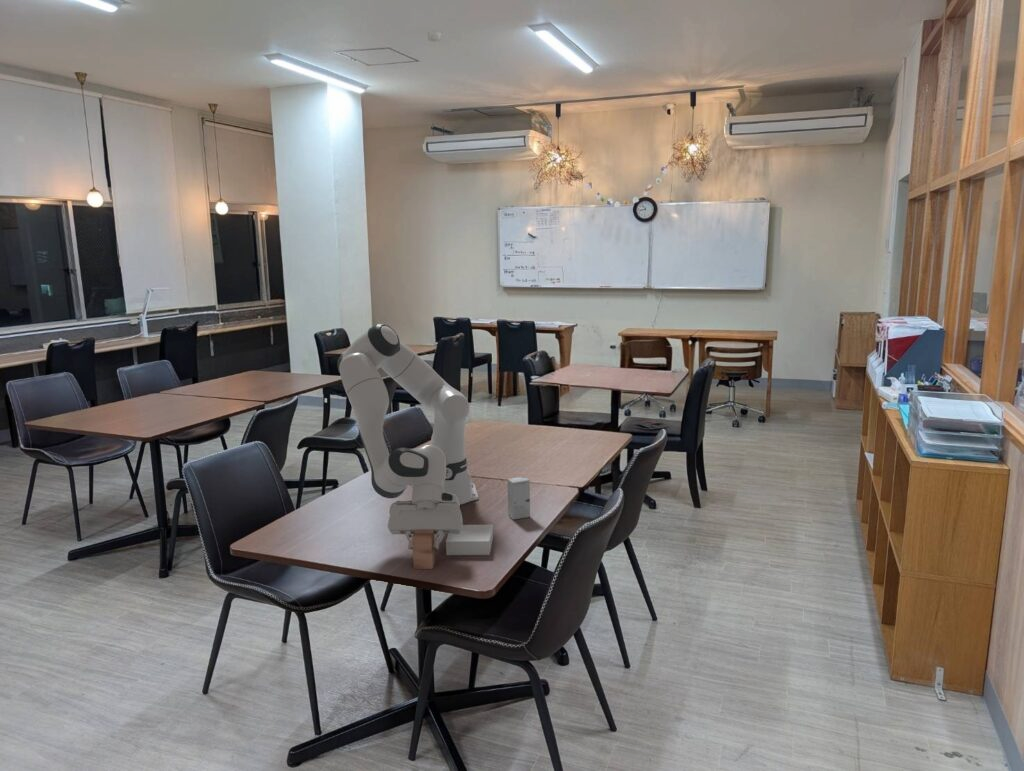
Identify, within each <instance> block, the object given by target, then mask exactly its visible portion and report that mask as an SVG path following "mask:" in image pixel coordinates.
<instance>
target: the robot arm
mask: <svg viewBox="0 0 1024 771" xmlns="http://www.w3.org/2000/svg"><path fill="white" fill-rule="evenodd" d="M336 363H337V366H336V367H337V369H338V373H339V374H340V379H341V383H342V386H343V388H344V391H345V393H346V396H347V399H348V401H349V403H350V405H351V408H352V410H353V411H352V412H353V414H354V418H355V421H356V425H357V429H358V433H359V436H360V438H361V442H362V445H363V448H364V451H365V455H366V457H367V459H368V460H367V461H368V463H369V466H370V470H371V473H370V474H371V477H370V478H371V485H372V488H373V489H374V491H375V492H376V493H377V494H378V495H379V496H381V497H383V498H385V499H396V498H398V497H400V496H402V494H404V492H405V490H406V489H407V487H408V486H411V487H412V495H411V500H405V501H404V500H403V501H402V500H396V501H395V502H394V503H392V504H390V506H389V518H388V521H387V529H388V531H389V533H390V534H391V535H405V537H406V540H407V541H408V545H407V546H408V547H407V548H408V550H413V547H412V536H413V534H414V532H415V530H434V535H437V538H436V539H435V540H434V541H433V545H432V548H433V549H435V550H439V548H440V544H441V542H442V541H443V540H444V537H445V535H448V534H460V533H461V532H462V531H463V525H464V522H463V515H462V511H461V510H462V509H461V508H460V507H461V506H460V505H464V504H467V503H469V502H473V501H477V500H479V494H478V491H477V489H476V488H477V487H476V484H475V483H473V482H472V475H471V474H470V472H469V470H468V461H467V458H466V450H465V449H466V446H465V444H466V443H465V440H466V439H465V436H466V434H465V431H466V426H467V419H468V416H469V415H468V414H469V413H470V404H469V402H468V399H467V398H466V396H465V395H464V394H463V393H462V392H461V391H459V390H457V389H456V388H454V387H453V386H451V385H450V384H449V383H448V382H446V380H445V379H444V378H442V376H440V375H439V373H437V372H436V371H435V369H434V368H433V367H431V365H429V364H428V363H427V362H426V361H425V360H424V359H422V358H421V356H420V355H418V354H417V353H416V352H415V351H414V350H412V348H410V347H409V346H408V345H406V344H404V343H403V342H402V341H400V338H399V335H398V334H397V332H396V331H395V330H394V329H393V328H392V327H391V326H389V325H387V324H383V323H378V324H375V325H373V326H371V327H370V328H368V330H367V331H366V332H363V334H361V335H360V336H358V337H357V338H356V339H355V340H354V341H353V342H352V344H350V345H349V346H348V347H347V349H346V350H344V351H343V352H342V353H341V354H340V356H339V357H338V360H337V362H336ZM379 369H382V370H383V371H384V372H385V374H387V375H388V376H389V377H390V378H391V379H393V381H394V382H396V383H397V384H398V385H399V386H400V387H401V388H403V389H404V390H405V391H406V392H407V393H409V394H410V395H411V396H412V397H413V398H414V399H416V401H417V402H419V403H420V404H421V405H422V406H423V407H424V408H425V409H427V411H428V412H430V413H431V414H432V416H433V429H432V435H431V441H430V442H431V444H425V445H424V444H423V445H422V446H420V447H417V448H408V447H398V448H395V449H394V450H391V452H389V449H388V446H387V443H386V439H385V436H384V423H385V418H386V415H387V413H388V409H389V405H390V396H389V393H388V389H387V386H386V384H385V383H384V379H383V378H382V376H381V374H380V372H379Z"/></svg>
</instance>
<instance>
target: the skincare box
mask: <svg viewBox="0 0 1024 771" xmlns="http://www.w3.org/2000/svg"><path fill="white" fill-rule="evenodd" d="M506 480H507V509H508V510H507V516H508V517H509V518H511V519H512V520H518V519H525V518H529V517H530V516H531V498H530V495H531V494H530V490H531V489H530V486H531V485H530V484H531V483H530V479H529V478H527V477H525V476H520V477H519V476H518V477H513V478H507V479H506Z"/></svg>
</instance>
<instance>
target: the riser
mask: <svg viewBox="0 0 1024 771" xmlns="http://www.w3.org/2000/svg"><path fill="white" fill-rule="evenodd" d="M493 527H494V525H493V524H463V531H462V532H461V533H460V534H447V537H446V539H445V553H446V556H490V555H491V550H492V545H493V539H494V528H493Z"/></svg>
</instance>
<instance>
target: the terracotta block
mask: <svg viewBox="0 0 1024 771" xmlns="http://www.w3.org/2000/svg"><path fill="white" fill-rule="evenodd" d="M411 541H412V547H413V549H412V559H413V560H412V561H413V563H412V564H413V569H414V570H433V569H434V566H435V563H436V549H433V548H432V545H433V541H435V534H434V530H415V532H414V534H412V538H411Z"/></svg>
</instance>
